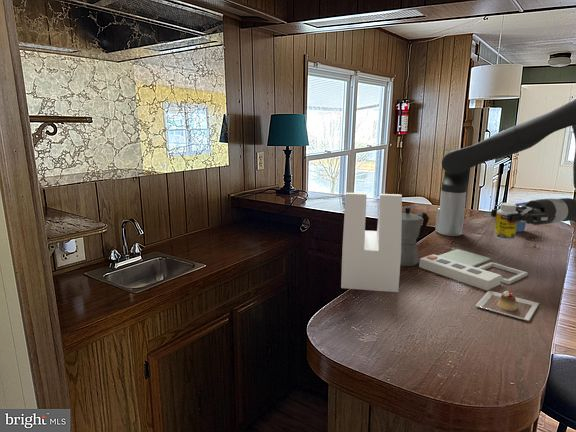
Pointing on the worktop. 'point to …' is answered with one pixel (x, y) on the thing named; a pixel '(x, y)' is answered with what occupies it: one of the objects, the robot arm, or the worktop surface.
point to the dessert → (508, 303)
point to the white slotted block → (372, 244)
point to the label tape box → (520, 225)
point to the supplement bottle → (505, 222)
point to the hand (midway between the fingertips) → (500, 215)
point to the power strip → (460, 271)
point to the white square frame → (510, 280)
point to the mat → (465, 257)
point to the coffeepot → (411, 236)
